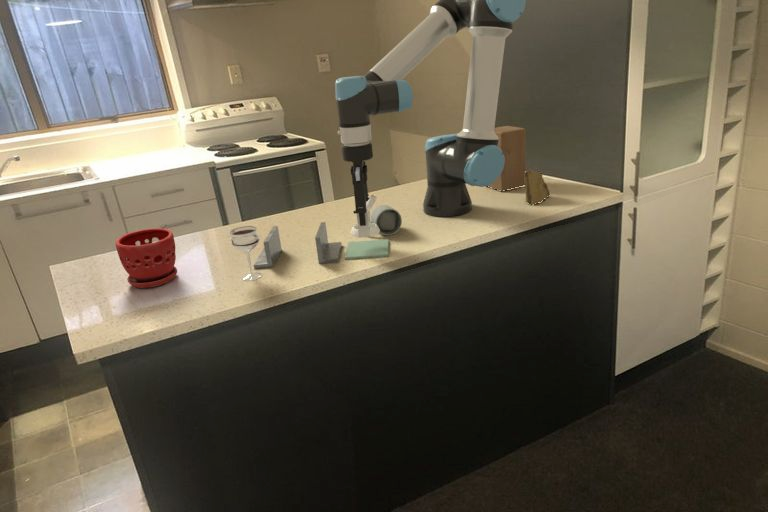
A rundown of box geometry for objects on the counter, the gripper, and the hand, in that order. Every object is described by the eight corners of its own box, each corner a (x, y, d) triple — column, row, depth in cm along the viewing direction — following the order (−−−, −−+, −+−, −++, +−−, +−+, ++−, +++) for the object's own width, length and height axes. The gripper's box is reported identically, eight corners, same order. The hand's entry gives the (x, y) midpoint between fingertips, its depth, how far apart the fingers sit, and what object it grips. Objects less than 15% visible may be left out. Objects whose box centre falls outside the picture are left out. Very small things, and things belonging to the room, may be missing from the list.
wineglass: (242, 271, 134) (233, 226, 130) (268, 270, 134) (260, 224, 130) (234, 283, 128) (224, 236, 124) (262, 281, 128) (253, 234, 123)
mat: (388, 241, 146) (388, 239, 146) (388, 256, 136) (388, 254, 135) (348, 244, 146) (348, 242, 146) (345, 259, 136) (344, 257, 136)
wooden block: (501, 192, 180) (501, 132, 173) (484, 186, 189) (483, 129, 181) (525, 187, 184) (526, 128, 176) (507, 181, 192) (507, 125, 185)
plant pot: (127, 297, 126) (113, 249, 122) (128, 277, 137) (115, 234, 133) (185, 283, 131) (173, 237, 126) (181, 266, 142) (170, 223, 138)
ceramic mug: (394, 224, 158) (392, 199, 156) (403, 232, 151) (400, 207, 148) (360, 231, 156) (356, 206, 153) (367, 240, 149) (364, 214, 146)
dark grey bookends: (341, 245, 146) (338, 221, 143) (337, 262, 135) (334, 236, 132) (264, 251, 147) (260, 227, 144) (254, 268, 136) (249, 242, 133)
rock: (543, 186, 175) (515, 186, 172) (555, 168, 168) (526, 168, 165) (554, 212, 169) (525, 213, 167) (566, 195, 162) (537, 196, 160)
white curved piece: (397, 215, 133) (373, 203, 130) (372, 251, 138) (348, 240, 135) (393, 201, 139) (370, 189, 137) (369, 235, 144) (347, 225, 142)
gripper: (344, 137, 140) (353, 220, 149) (337, 152, 121) (347, 246, 130) (373, 135, 140) (380, 218, 148) (370, 149, 121) (378, 244, 129)
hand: (365, 231), depth 139 cm, fingers closed on white curved piece, 8 cm apart
